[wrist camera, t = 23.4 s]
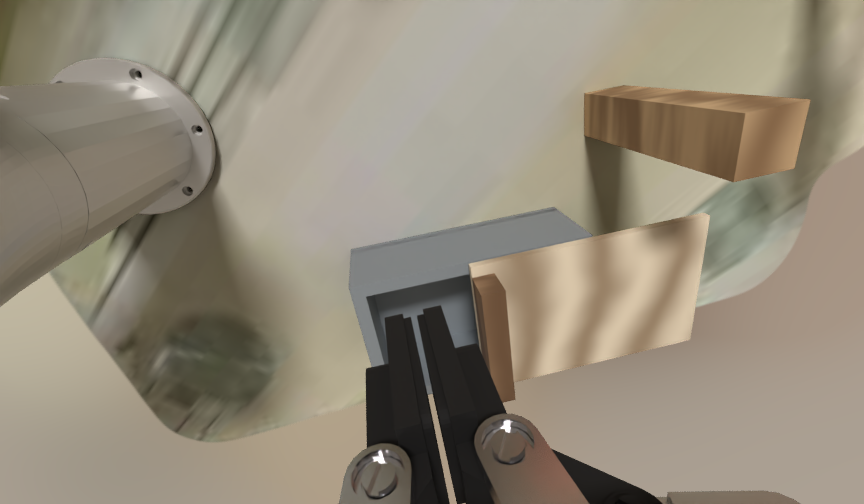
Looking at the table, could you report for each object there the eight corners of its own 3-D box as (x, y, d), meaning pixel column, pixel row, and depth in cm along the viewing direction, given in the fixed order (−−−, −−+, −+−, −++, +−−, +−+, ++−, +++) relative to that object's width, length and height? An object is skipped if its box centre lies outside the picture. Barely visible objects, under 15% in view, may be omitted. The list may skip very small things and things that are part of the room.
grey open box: (379, 354, 47) (383, 405, 40) (351, 249, 41) (348, 288, 34) (556, 313, 49) (589, 355, 42) (553, 206, 43) (592, 235, 36)
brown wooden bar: (584, 135, 40) (733, 182, 24) (584, 93, 38) (745, 113, 22) (621, 127, 40) (794, 168, 24) (623, 85, 39) (810, 99, 23)
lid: (484, 383, 41) (495, 412, 37) (468, 263, 35) (479, 285, 31) (684, 335, 42) (712, 358, 39) (703, 212, 36) (738, 227, 33)
